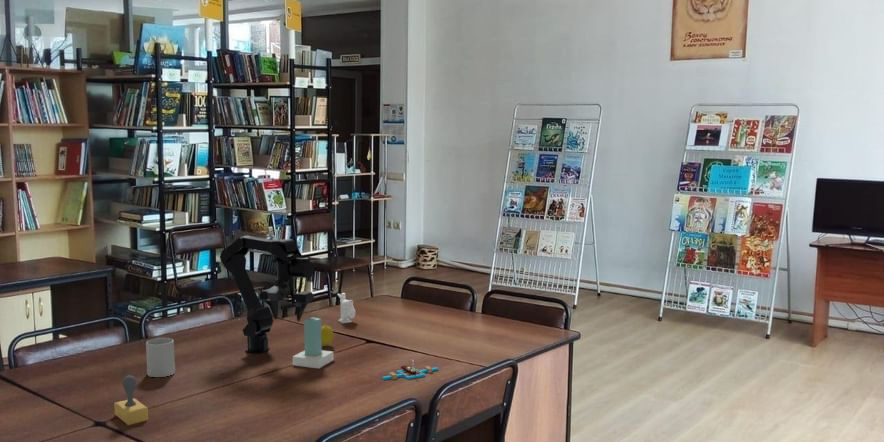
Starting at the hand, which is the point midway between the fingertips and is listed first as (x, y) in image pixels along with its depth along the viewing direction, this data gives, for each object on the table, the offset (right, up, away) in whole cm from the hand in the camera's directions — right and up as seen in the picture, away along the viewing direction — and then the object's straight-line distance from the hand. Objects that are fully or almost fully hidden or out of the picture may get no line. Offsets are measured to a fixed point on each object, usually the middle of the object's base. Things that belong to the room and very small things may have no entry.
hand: (287, 320), depth 268 cm
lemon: (+11, -12, +14) cm, 22 cm away
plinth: (+10, -14, -5) cm, 18 cm away
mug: (-38, -15, -17) cm, 44 cm away
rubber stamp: (-32, -20, -55) cm, 67 cm away
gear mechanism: (+43, -16, -17) cm, 49 cm away
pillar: (+10, -11, -6) cm, 16 cm away
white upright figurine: (+14, -8, +49) cm, 52 cm away
